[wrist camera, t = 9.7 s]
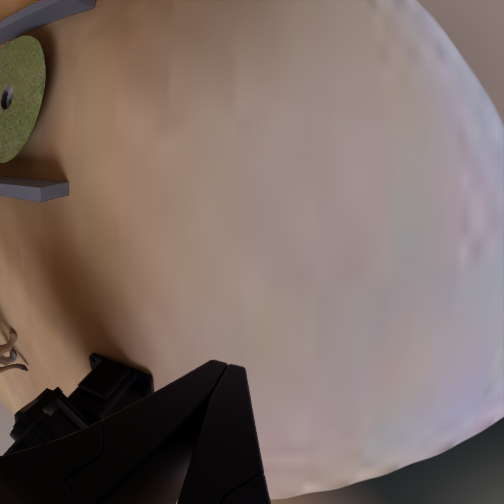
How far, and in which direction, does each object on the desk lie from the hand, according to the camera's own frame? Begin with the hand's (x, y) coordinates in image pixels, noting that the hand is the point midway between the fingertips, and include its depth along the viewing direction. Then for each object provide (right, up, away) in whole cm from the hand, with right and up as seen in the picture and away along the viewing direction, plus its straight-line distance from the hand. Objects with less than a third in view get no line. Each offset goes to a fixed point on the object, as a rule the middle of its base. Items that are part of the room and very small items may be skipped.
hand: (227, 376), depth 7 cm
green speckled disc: (-19, +16, +12) cm, 28 cm away
